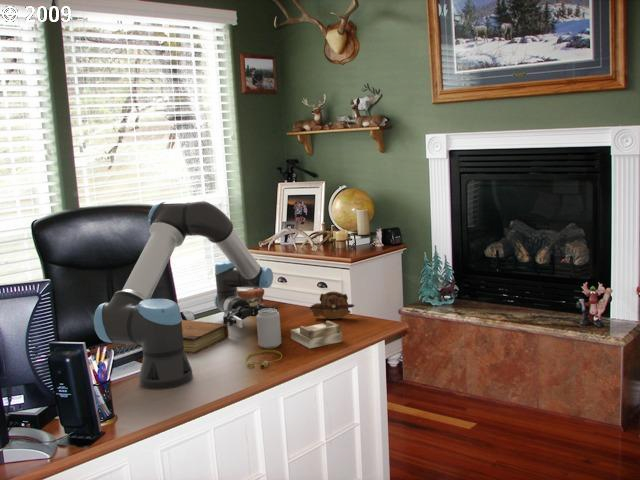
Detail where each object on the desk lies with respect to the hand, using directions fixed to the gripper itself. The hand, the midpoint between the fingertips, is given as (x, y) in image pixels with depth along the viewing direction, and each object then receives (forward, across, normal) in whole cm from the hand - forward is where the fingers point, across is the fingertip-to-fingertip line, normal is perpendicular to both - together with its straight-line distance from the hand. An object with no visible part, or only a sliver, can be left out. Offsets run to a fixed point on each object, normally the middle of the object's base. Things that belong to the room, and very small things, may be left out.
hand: (260, 320), depth 247 cm
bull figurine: (-46, -14, -7) cm, 48 cm away
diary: (-14, +22, -8) cm, 27 cm away
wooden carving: (-8, -32, -7) cm, 34 cm away
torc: (+20, +8, -8) cm, 23 cm away
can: (+8, 0, -7) cm, 11 cm away
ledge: (+12, -15, -7) cm, 20 cm away
